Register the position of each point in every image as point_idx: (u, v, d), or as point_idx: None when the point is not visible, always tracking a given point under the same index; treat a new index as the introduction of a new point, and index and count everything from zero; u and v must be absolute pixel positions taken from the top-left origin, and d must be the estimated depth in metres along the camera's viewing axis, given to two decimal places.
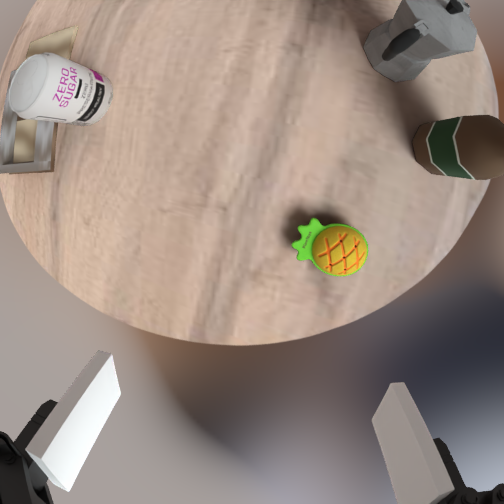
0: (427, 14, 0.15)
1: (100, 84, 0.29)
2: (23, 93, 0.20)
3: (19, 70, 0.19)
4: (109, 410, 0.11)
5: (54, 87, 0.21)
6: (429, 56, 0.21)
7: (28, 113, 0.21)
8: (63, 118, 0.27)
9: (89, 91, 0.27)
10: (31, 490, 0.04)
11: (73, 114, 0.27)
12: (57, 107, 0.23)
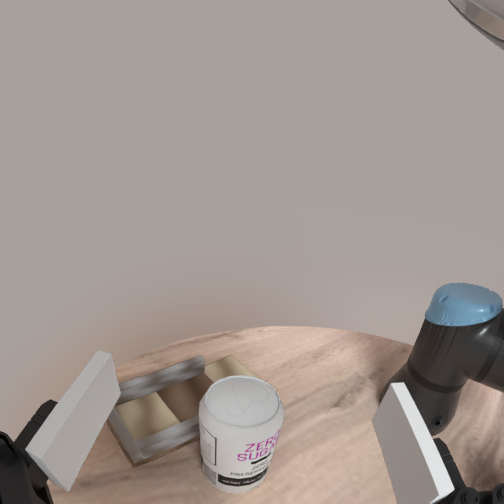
0: None
1: (266, 470, 0.25)
2: (230, 403, 0.24)
3: (242, 377, 0.27)
4: (109, 410, 0.11)
5: (261, 438, 0.21)
6: None
7: (216, 425, 0.21)
8: (218, 463, 0.23)
9: (260, 468, 0.24)
10: (31, 490, 0.04)
11: (227, 470, 0.23)
12: (235, 453, 0.21)
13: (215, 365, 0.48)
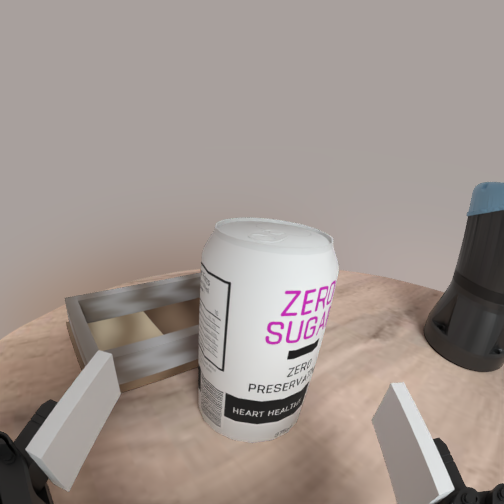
0: None
1: (304, 395, 0.18)
2: (255, 233, 0.16)
3: (269, 223, 0.20)
4: (109, 410, 0.11)
5: (312, 279, 0.14)
6: None
7: (232, 253, 0.14)
8: (229, 360, 0.15)
9: (298, 379, 0.16)
10: (31, 490, 0.04)
11: (244, 378, 0.15)
12: (263, 321, 0.14)
13: None
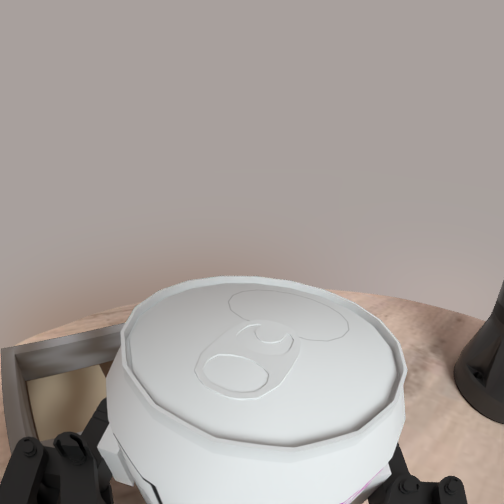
0: None
1: None
2: (221, 344, 0.06)
3: (260, 285, 0.10)
4: None
5: (357, 486, 0.04)
6: None
7: (147, 433, 0.04)
8: None
9: None
10: (98, 494, 0.05)
11: None
12: None
13: None
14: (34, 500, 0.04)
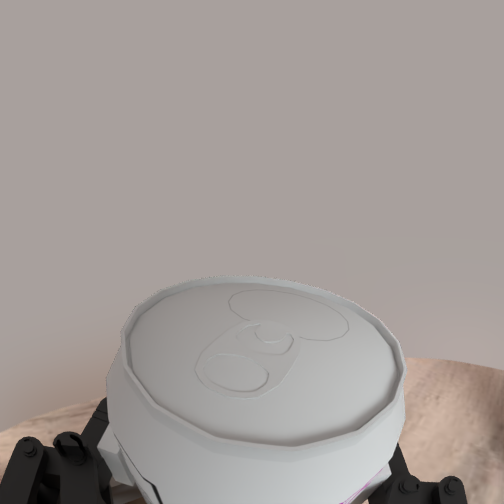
0: None
1: None
2: (221, 343, 0.06)
3: (260, 285, 0.10)
4: None
5: (357, 485, 0.04)
6: None
7: (147, 433, 0.04)
8: None
9: None
10: (98, 494, 0.05)
11: None
12: None
13: None
14: (34, 500, 0.04)
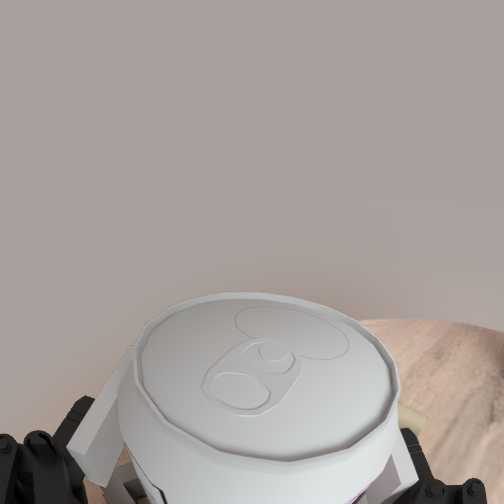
0: None
1: None
2: (226, 361, 0.07)
3: (266, 301, 0.10)
4: None
5: (348, 496, 0.04)
6: None
7: (157, 445, 0.04)
8: None
9: None
10: (69, 491, 0.05)
11: None
12: None
13: None
14: (12, 496, 0.03)
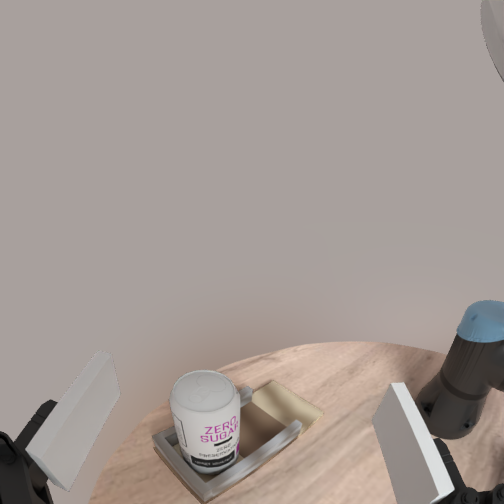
0: None
1: (234, 454, 0.30)
2: (193, 392, 0.29)
3: (207, 372, 0.32)
4: (109, 410, 0.11)
5: (217, 422, 0.26)
6: None
7: (180, 410, 0.26)
8: (188, 444, 0.28)
9: (224, 451, 0.29)
10: (31, 490, 0.04)
11: (196, 451, 0.28)
12: (198, 435, 0.26)
13: (261, 392, 0.48)
14: None
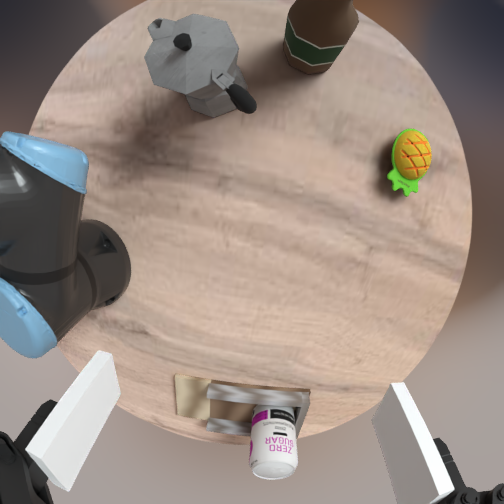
0: (201, 71, 0.22)
1: (270, 413, 0.46)
2: (279, 471, 0.37)
3: (257, 475, 0.38)
4: (109, 410, 0.11)
5: (285, 454, 0.37)
6: (235, 64, 0.26)
7: (295, 467, 0.37)
8: (295, 438, 0.43)
9: (279, 423, 0.44)
10: (31, 490, 0.04)
11: (294, 432, 0.44)
12: (294, 447, 0.40)
13: (196, 416, 0.53)
14: None
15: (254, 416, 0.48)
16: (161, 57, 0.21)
